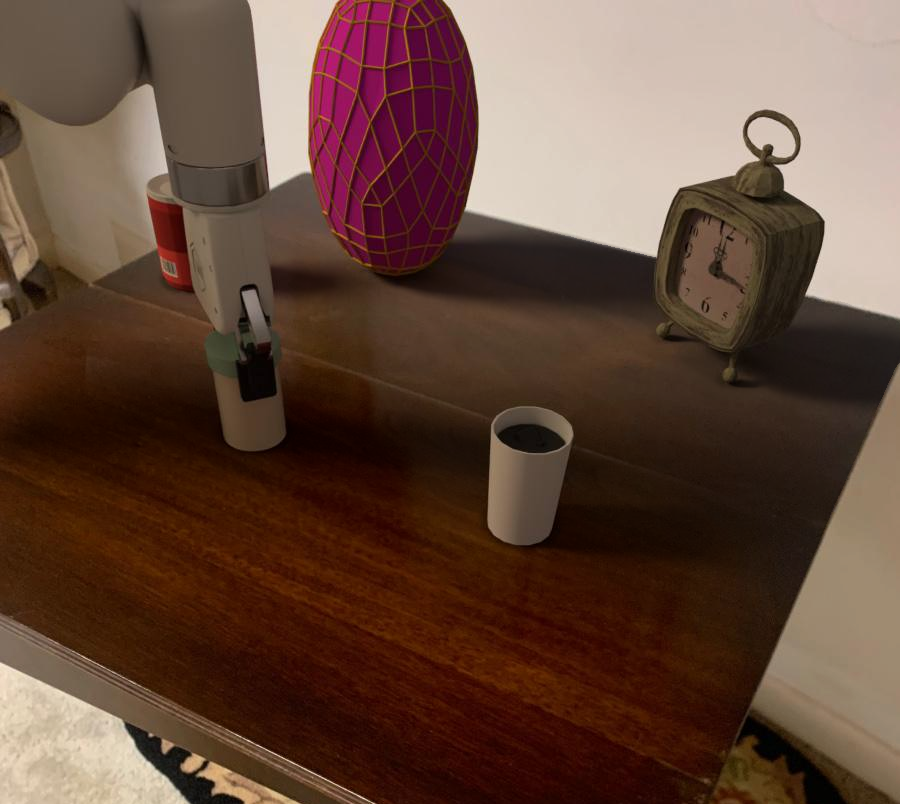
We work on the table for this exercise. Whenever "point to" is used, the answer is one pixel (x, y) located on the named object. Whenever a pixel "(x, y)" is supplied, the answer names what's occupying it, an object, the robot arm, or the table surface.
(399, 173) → the decorative egg
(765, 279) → the tabletop clock
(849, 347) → the table surface
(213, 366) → the lid
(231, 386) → the jar
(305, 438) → the table surface
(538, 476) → the white cup
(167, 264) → the canned food
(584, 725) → the table surface
